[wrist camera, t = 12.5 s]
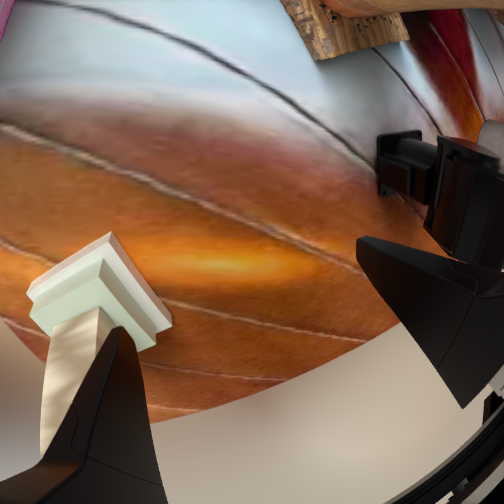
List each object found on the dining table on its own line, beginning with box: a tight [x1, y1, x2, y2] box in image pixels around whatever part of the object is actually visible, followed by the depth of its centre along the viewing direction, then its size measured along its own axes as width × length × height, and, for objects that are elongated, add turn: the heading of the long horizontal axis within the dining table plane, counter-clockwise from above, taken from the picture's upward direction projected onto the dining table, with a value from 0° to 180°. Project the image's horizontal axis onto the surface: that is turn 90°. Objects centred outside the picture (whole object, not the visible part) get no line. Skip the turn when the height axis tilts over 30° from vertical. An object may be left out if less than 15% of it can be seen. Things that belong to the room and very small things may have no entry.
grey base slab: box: [26, 231, 172, 334], centre depth 22 cm, size 10×10×2 cm
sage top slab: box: [29, 258, 156, 352], centre depth 20 cm, size 8×8×2 cm
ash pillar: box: [40, 307, 116, 459], centre depth 14 cm, size 5×5×12 cm
